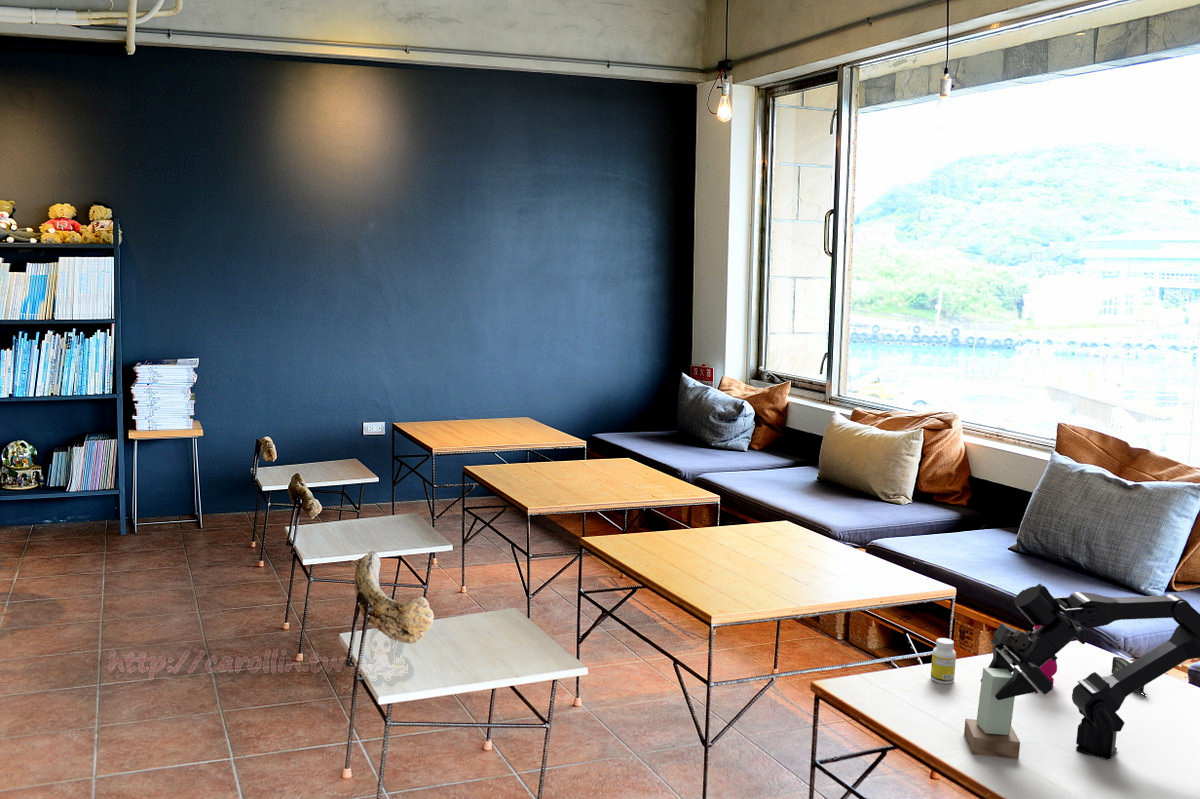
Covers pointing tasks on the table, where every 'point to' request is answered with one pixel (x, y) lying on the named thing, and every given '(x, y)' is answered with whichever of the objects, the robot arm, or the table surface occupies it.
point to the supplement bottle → (943, 661)
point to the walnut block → (991, 742)
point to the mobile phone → (1119, 664)
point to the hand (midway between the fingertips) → (989, 690)
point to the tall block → (994, 703)
